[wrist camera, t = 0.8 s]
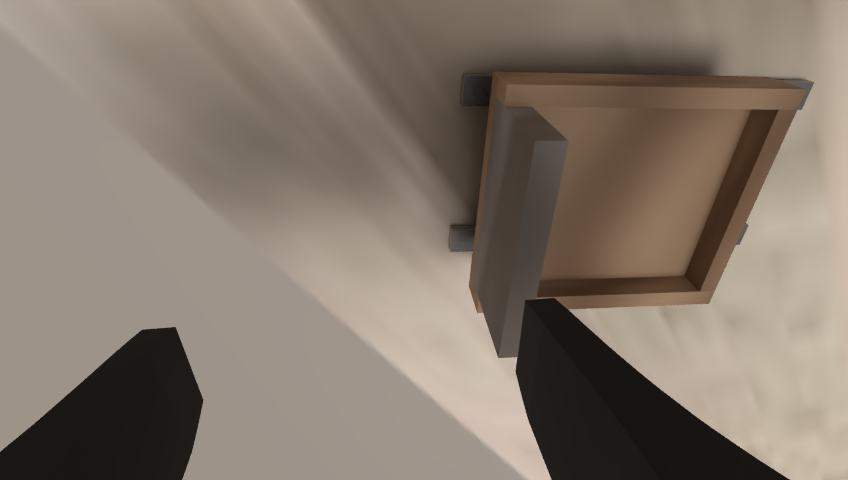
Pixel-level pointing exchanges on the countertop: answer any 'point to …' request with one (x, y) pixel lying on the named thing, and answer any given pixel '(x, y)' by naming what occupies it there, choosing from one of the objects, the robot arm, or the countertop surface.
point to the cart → (617, 188)
